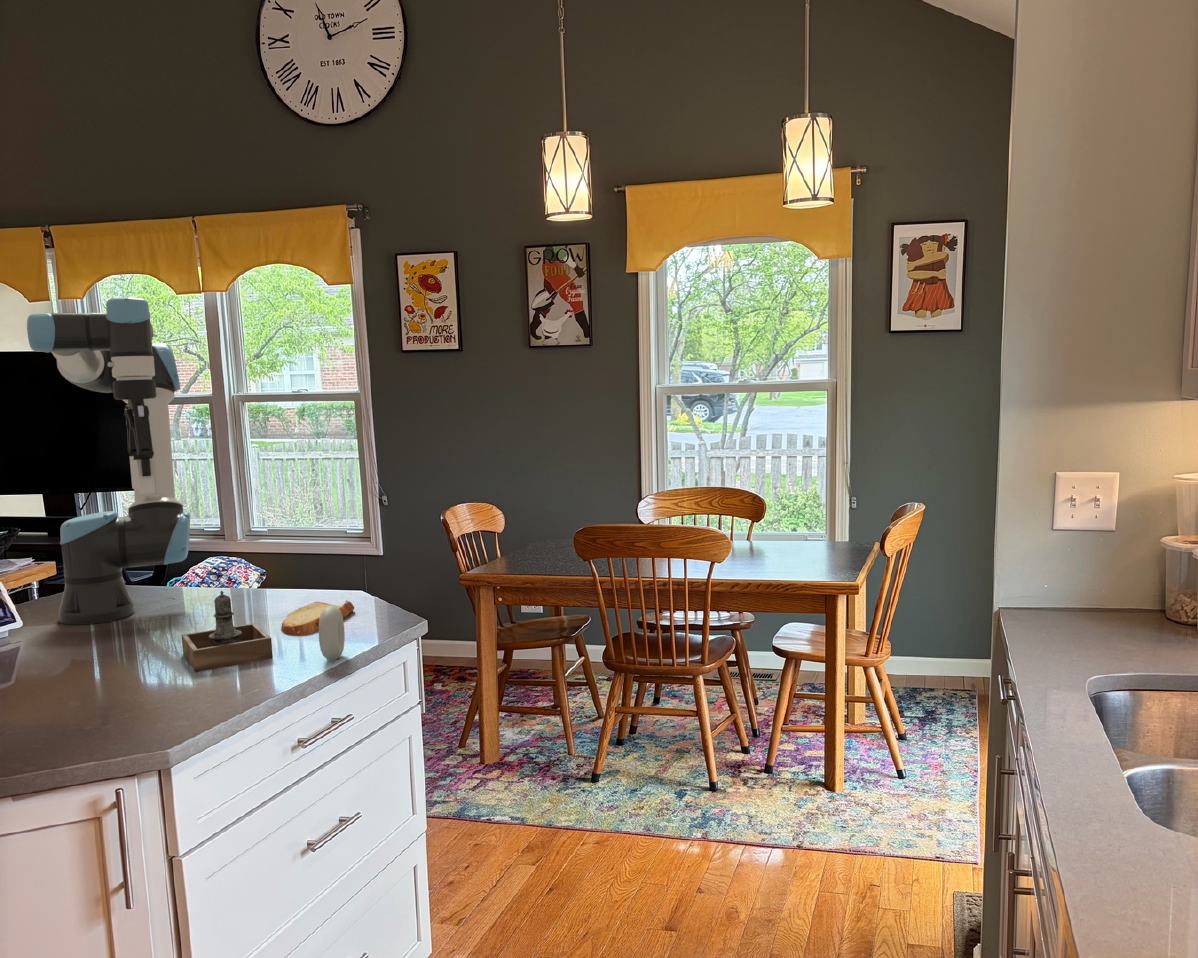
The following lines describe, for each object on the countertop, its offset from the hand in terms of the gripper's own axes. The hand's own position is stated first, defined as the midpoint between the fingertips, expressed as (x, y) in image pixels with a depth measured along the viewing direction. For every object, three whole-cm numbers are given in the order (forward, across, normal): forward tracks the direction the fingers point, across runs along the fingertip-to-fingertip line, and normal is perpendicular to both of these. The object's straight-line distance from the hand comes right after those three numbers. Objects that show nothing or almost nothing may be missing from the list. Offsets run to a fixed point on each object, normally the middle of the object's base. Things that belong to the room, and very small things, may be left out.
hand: (143, 490), depth 191 cm
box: (+31, +18, +10) cm, 38 cm away
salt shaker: (+30, +18, +10) cm, 37 cm away
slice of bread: (+32, +3, +32) cm, 45 cm away
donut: (+31, +33, +26) cm, 52 cm away
